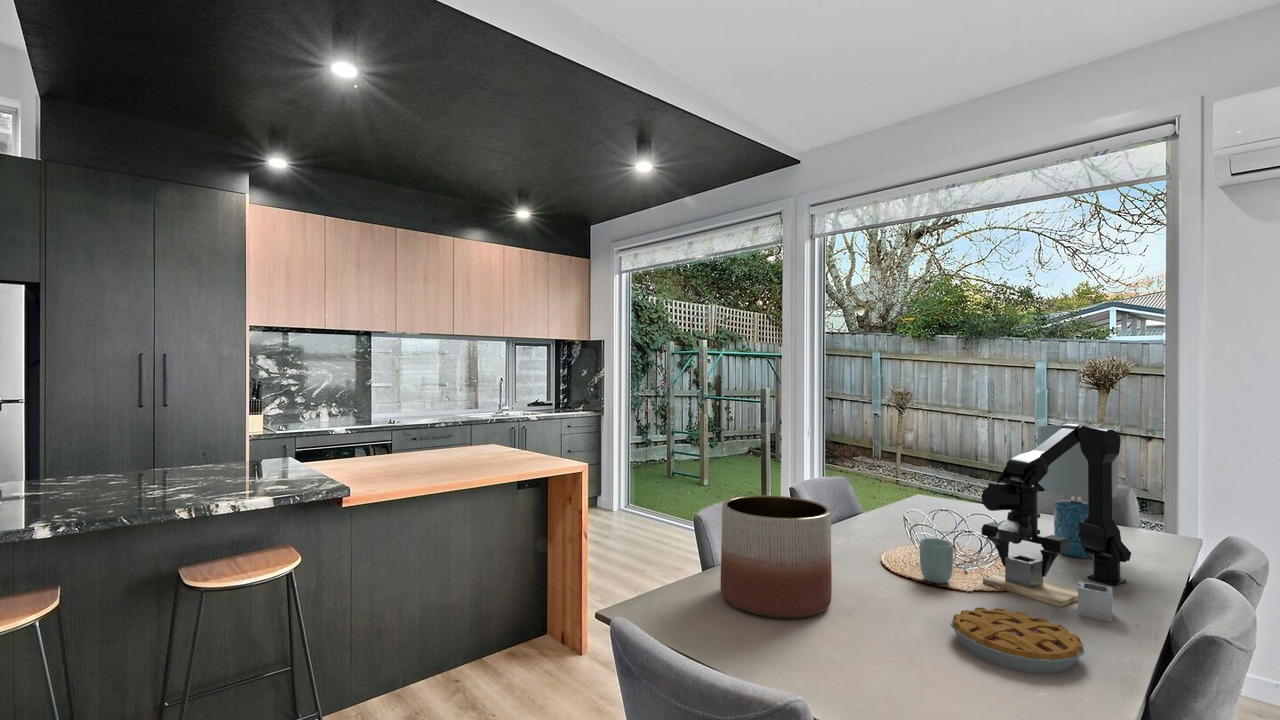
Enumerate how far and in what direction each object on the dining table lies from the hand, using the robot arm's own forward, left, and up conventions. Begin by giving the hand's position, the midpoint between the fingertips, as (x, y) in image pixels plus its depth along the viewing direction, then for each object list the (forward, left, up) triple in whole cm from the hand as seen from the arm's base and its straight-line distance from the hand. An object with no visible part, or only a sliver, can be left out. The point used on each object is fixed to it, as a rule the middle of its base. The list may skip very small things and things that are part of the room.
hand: (1024, 571), depth 152 cm
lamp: (-44, -7, -4) cm, 45 cm away
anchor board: (0, +2, -4) cm, 5 cm away
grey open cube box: (+4, +17, -4) cm, 18 cm away
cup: (+15, -14, -4) cm, 21 cm away
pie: (+38, +17, -5) cm, 42 cm away
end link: (0, 0, -3) cm, 3 cm away
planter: (+61, -25, -4) cm, 66 cm away
